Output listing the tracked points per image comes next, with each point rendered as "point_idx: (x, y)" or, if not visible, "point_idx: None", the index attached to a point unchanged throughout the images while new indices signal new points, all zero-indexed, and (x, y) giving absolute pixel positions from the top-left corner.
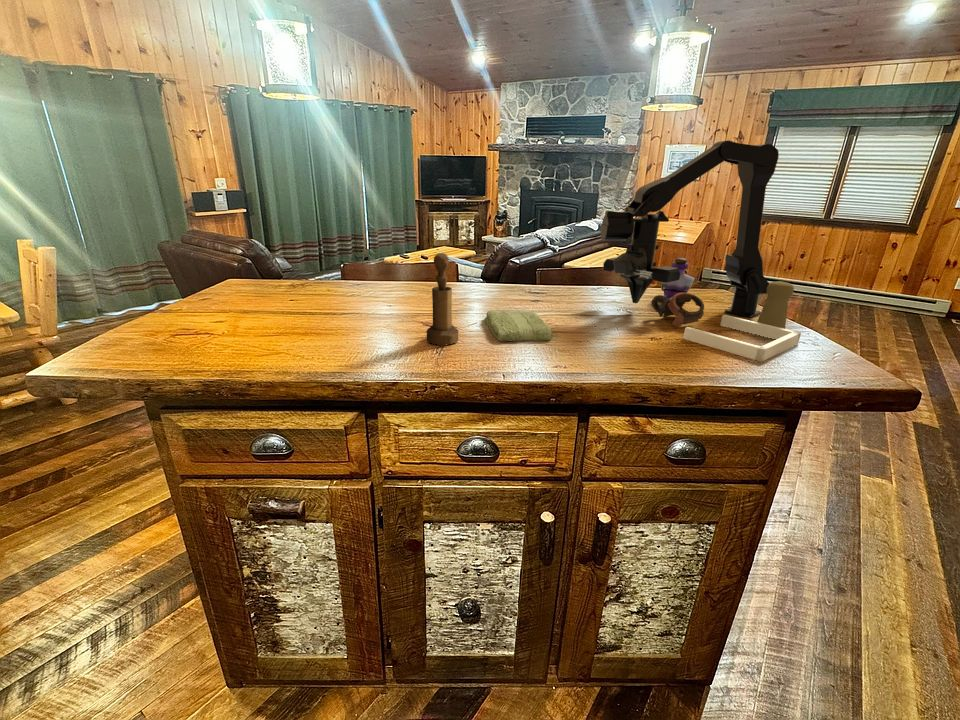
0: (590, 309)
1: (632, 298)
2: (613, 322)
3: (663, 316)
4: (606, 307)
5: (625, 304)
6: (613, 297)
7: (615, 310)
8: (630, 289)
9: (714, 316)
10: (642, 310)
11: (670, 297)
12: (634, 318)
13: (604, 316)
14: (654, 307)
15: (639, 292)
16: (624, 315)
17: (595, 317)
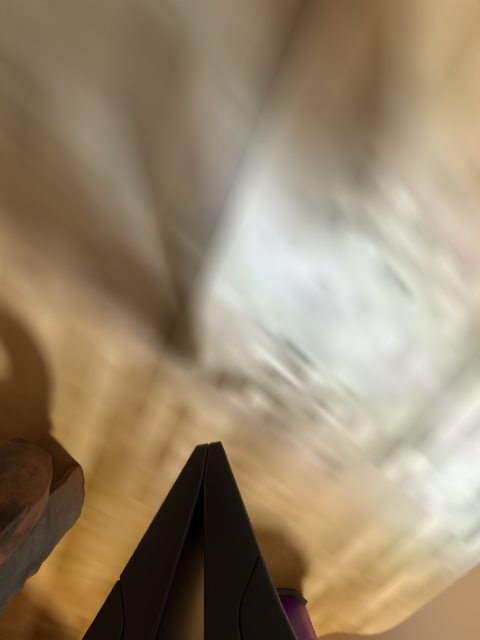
0: (416, 184)
1: (221, 467)
2: (34, 65)
3: (72, 469)
4: (374, 330)
5: (348, 454)
6: (464, 479)
7: (296, 335)
8: (251, 567)
9: (46, 608)
10: None
11: None
12: (101, 319)
13: (218, 139)
14: (5, 474)
15: (130, 577)
16: (182, 308)
17: (227, 15)
